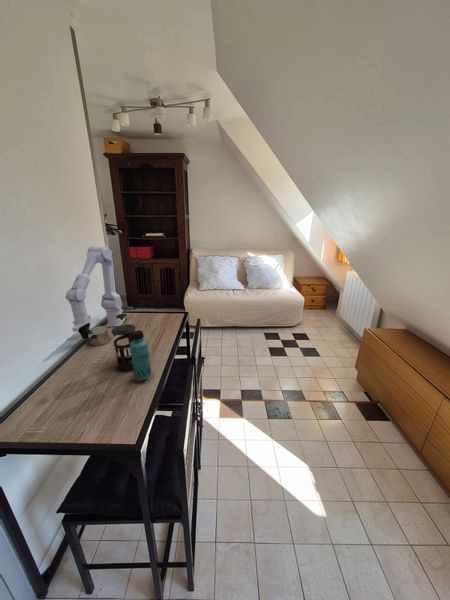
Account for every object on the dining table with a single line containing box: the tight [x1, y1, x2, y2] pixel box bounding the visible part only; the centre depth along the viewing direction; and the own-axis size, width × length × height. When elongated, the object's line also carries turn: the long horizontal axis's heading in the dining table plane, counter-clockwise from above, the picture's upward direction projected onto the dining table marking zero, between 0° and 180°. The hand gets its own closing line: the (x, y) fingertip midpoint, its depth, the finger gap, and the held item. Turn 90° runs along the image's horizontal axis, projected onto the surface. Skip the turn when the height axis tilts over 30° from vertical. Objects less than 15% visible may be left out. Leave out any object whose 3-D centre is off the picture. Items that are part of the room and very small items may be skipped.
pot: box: [88, 325, 111, 347], centre depth 124 cm, size 12×9×6 cm
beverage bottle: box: [130, 329, 152, 381], centre depth 93 cm, size 6×7×20 cm
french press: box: [111, 313, 136, 373], centre depth 101 cm, size 12×9×23 cm
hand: (85, 338), depth 124 cm, fingers closed, pressing on pot
